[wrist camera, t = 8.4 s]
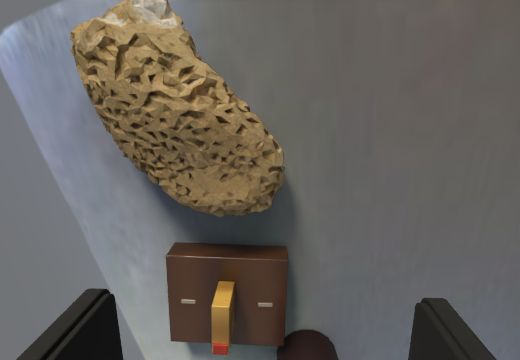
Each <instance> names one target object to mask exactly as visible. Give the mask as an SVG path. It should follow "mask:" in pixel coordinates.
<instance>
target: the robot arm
mask: <svg viewBox="0 0 520 360" xmlns="http://www.w3.org/2000/svg"><path fill="white" fill-rule="evenodd" d="M17 360H123V354H122V347H121V340H120V332H119V326H118V318H117V310H116V303H115V297H114V295H113V294H110V292H109V291H108V290H107V289H87V290H86V291H85V292H84V293H83V294H82V295H81V296H80V297H79V298H78V299H77V300H76V301H75V302H74V303H73V304H72V305H71V306H70V307H69V308H68V309H67V310H66V311H65V312H64V313H63V314H62V315H61V316H60V317H59V318H58V319H57V320H56V321H55V322H54V323H53V324H52V325H51V326H50V327H49V328H48V329H47V330H46V331H45V332H44V333H43V334H42V335H41V336H40V337H39V338H38V339H37V340H36V341H35V342H34V343H33V344H32V345H31V346H29V348H28V349H27V350H25V351H24V353H22V354H21V356H20V357H18V358H17ZM408 360H496V359H495V357H494V356H493V355H492V354H491V353H490V352H489V351H488V349H487V348H486V347H485V346H484V345H483V343H482V342H481V341H480V340H479V339H478V337H477V336H476V335H475V334H474V333H473V331H472V330H471V329H470V328H469V327H468V325H467V324H466V323H465V322H464V321H463V319H462V318H461V317H460V316H459V315H458V313H457V312H456V311H455V310H454V309H453V307H452V306H451V305H450V304H449V303H448V301H447V300H445V299H443V298H423V299H422V301H421V303H417V304H416V306H415V313H414V320H413V328H412V335H411V343H410V350H409V358H408Z"/></svg>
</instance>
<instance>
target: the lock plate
mask: <svg viewBox="0 0 520 360" xmlns="http://www.w3.org/2000/svg"><path fill="white" fill-rule="evenodd" d="M166 265H167V282H168V300H169V317H170V334H171V341H179V342H201V343H212V309H211V306H212V303H213V299H214V296H215V293H216V289H217V286H218V283H219V281H228V282H235V309H234V329H233V335H232V341H231V344H243V345H265V346H284V339H285V318H286V297H287V276H288V253H287V247H283V246H256V245H229V244H202V243H174V245H173V246H172V248H171V249H170V251H169V252H168V253H167V255H166Z"/></svg>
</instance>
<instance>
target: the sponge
mask: <svg viewBox="0 0 520 360" xmlns="http://www.w3.org/2000/svg"><path fill="white" fill-rule="evenodd" d="M182 24H183V21H182V20H181V19H180V17H179V16H178V15H176V14H175V13H174V12H173V11H172V9H171V7H170V5H169V3H168V0H126V1H124V2H122V3H120V4H118V5H117V6H115V7H113V8H111V9H109V10H108V11H107V12H106V13H105V14H104V16H103V17H101V18H94V19H92V20H90V21H86V22H84V23H82V24H80V25H77V26H76V27H75V28H74V29H73V30H72V31H71V35H70V40H72V41H73V44H72V48H71V52H72V54H73V56H74V57H75V62H76V66H77V69H78V72H79V74H80V77H81V80H82V83H83V85H84V87H85V89H86V91H87V93H88V95H89V98H90V100H91V102H92V104H93V105H94V108H95V109H96V112H97V114H98V115H99V117H100V119H101V120H102V122H103V124H104V126H105V128H106V130H107V131H108V132H109V133H111V134H112V137H113V139H114V141H115V143H116V144H117V146H118V147H119V148H120V150H122V151H123V157H127V158H129V159H130V160H131V161H132V162H133V163H134V164H135V166H136V168H138V169H139V170H140V171H142V172H145V173H147V174H148V179H149V180H151V181H152V182H153V183H154V184H157V183H159V185H160V186H162V190H163V191H164V192H166V193H167V194H168V195H170V196H171V197H172V198H173V199H175V200H176V201H177V202H178V203H180V204H181V205H182V206H187V207H191V208H192V209H193V210H195V211H198V212H205V213H207V214H210V215H217V216H219V217H222V216H223V215H225V214H227V215H231V216H234V214H235V215H245V214H248V213H251V212H263V211H264V210H266V209H268V208H269V207H270V206H271V205H272V200H273V198H274V196H275V194H276V192H277V191H278V190H279V188H280V187H281V185H282V184H283V183H284V174H283V171H284V168H285V167H283V166H282V164H283V161H284V154H283V152H282V150H281V148H280V146H279V144H278V142H277V141H276V139H275V138H274V137H273V136H272V135H270V134H268V128H267V127H266V126H265V125H264V124H263V123H262V121H261V120H260V119H259V118H258V116H257V115H255V114H254V113H251V112H250V107H249V106H248V104H247V103H245V102H243V101H241V100H240V99H238V98H237V97H236V96H234V93H233V92H232V91H231V90H230V89H229V88H228V87H227V85H226V84H225V82H224V81H223V79H222V77H219V76H218V75H217V74H218V73H216V72H214V71H212V70H211V69H210V67H209V66H208V64H206V63H203V62H201V58H200V56H199V55H198V53H197V52H196V50H195V45H194V42H193V40H192V37H191V35H190V33H189V32H188V31H187V30H184V28H183V26H182Z"/></svg>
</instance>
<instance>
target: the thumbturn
mask: <svg viewBox="0 0 520 360" xmlns="http://www.w3.org/2000/svg"><path fill="white" fill-rule="evenodd" d="M211 309H212V353H213V354H221V355H227V354H229V353H230V347H231V341H232V335H233V329H234V309H235V282H228V281H219V283H218V286H217V289H216V293H215V296H214V299H213V303H212V306H211Z"/></svg>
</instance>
